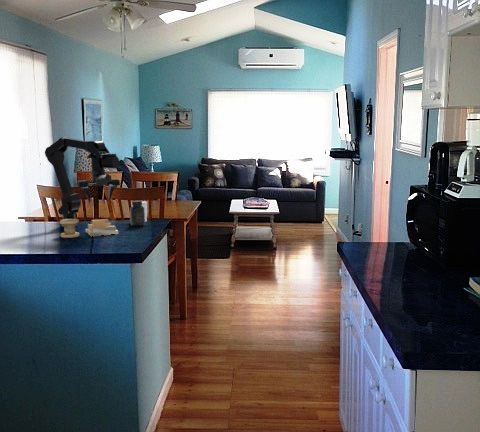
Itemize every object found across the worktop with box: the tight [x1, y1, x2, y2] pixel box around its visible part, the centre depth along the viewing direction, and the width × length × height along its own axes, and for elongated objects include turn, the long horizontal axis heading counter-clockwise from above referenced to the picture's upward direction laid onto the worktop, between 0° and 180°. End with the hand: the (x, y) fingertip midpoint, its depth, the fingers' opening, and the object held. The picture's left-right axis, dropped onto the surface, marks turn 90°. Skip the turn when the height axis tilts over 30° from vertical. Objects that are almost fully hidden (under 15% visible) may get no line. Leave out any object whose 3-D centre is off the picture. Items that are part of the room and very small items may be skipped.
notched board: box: [85, 222, 119, 238], centre depth 253 cm, size 12×12×4 cm
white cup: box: [131, 200, 148, 223], centre depth 282 cm, size 8×8×10 cm
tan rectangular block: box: [91, 218, 110, 227], centre depth 253 cm, size 4×7×4 cm, turn 117°
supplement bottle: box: [129, 200, 146, 227], centre depth 271 cm, size 7×7×12 cm
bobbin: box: [59, 218, 80, 239], centre depth 247 cm, size 8×8×7 cm
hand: (99, 201), depth 262 cm, fingers open, 9 cm apart
